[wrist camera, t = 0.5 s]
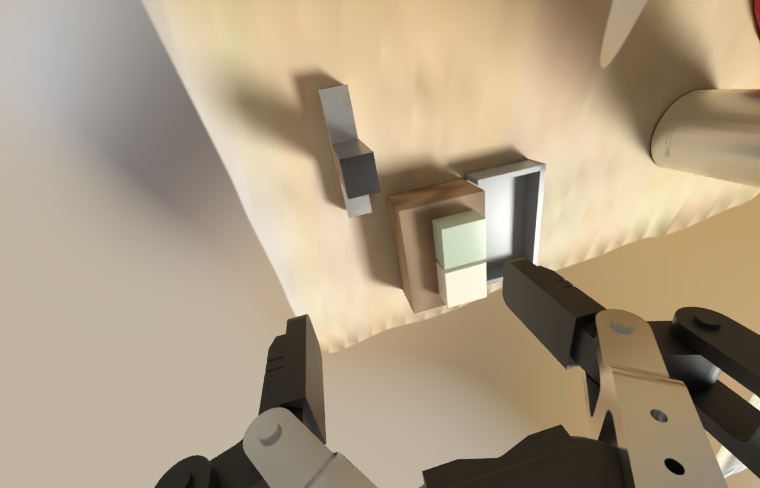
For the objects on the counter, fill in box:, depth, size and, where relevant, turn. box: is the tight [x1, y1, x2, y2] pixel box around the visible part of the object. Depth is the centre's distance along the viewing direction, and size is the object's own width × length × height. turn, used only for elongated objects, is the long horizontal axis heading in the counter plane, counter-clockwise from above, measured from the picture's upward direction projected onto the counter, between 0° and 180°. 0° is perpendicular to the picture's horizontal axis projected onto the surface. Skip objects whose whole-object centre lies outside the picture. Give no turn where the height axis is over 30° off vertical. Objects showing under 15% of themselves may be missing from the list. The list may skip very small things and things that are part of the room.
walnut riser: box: [387, 179, 485, 314], centre depth 35 cm, size 9×13×5 cm
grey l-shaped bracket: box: [318, 85, 380, 218], centre depth 27 cm, size 2×12×10 cm, turn 11°
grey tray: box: [465, 159, 546, 285], centre depth 37 cm, size 8×14×3 cm, turn 10°
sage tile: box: [432, 210, 486, 270], centre depth 31 cm, size 4×4×2 cm
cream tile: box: [436, 260, 487, 308], centre depth 33 cm, size 4×4×2 cm
